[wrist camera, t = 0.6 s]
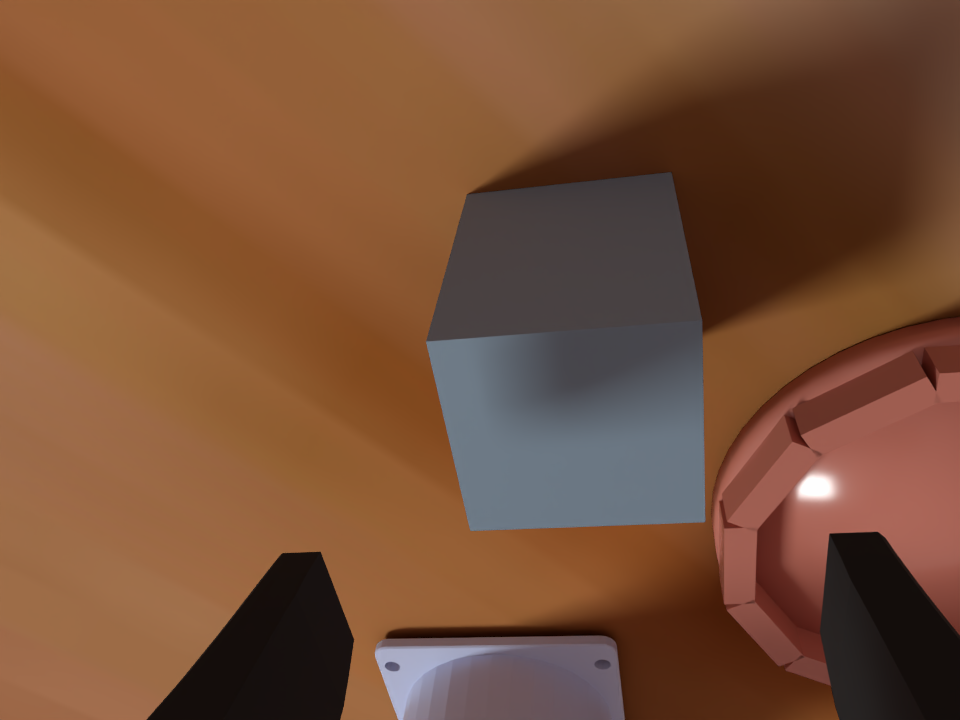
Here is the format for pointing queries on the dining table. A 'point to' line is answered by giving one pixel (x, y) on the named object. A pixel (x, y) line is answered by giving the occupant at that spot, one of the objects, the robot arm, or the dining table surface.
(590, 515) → the slate block
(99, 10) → the dining table surface
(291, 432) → the dining table surface
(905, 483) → the terracotta dish
